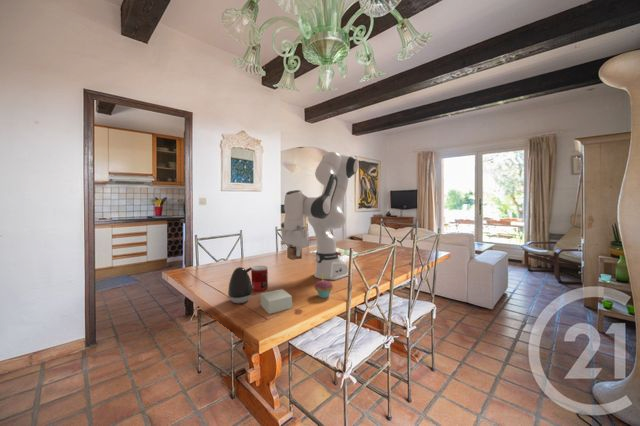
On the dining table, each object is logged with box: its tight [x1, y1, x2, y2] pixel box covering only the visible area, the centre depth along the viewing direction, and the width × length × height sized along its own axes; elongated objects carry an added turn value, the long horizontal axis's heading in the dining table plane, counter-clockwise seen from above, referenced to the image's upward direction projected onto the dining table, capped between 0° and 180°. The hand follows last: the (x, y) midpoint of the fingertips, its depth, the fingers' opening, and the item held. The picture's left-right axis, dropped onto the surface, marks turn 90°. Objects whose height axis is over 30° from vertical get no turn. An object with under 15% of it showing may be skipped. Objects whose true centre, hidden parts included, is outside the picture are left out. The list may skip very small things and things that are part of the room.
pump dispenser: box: [227, 266, 253, 304], centre depth 112 cm, size 10×10×15 cm
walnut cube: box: [286, 246, 303, 261], centre depth 119 cm, size 5×5×5 cm
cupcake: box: [314, 273, 334, 299], centre depth 117 cm, size 9×8×12 cm
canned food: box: [250, 265, 269, 293], centre depth 127 cm, size 8×8×11 cm
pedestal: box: [260, 288, 293, 315], centre depth 106 cm, size 10×10×5 cm
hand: (294, 254), depth 119 cm, fingers closed on walnut cube, 5 cm apart
